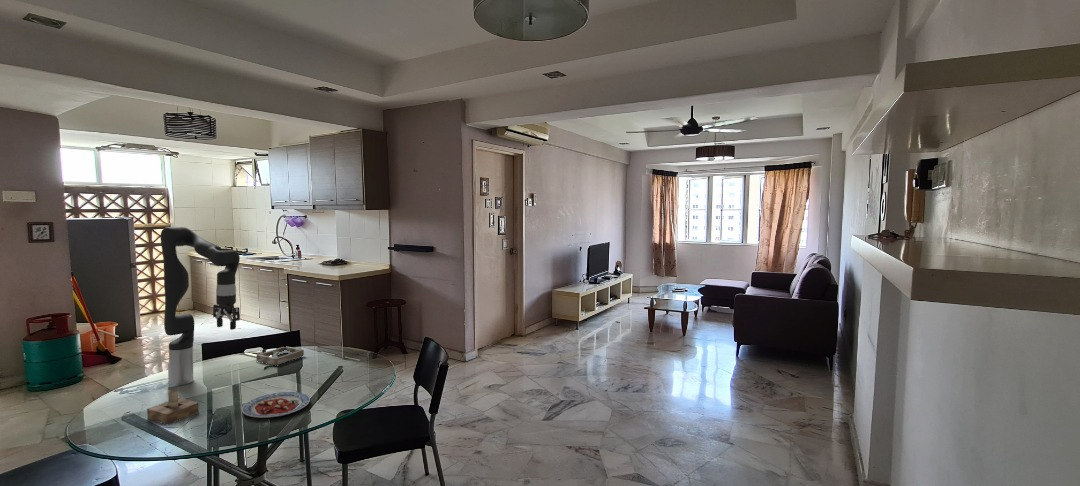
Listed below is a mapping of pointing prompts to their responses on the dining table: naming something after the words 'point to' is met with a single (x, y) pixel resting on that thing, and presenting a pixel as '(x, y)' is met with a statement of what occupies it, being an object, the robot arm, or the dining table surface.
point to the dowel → (172, 396)
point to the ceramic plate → (275, 404)
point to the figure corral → (275, 361)
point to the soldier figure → (275, 354)
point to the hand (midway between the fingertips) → (226, 328)
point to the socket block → (172, 411)
